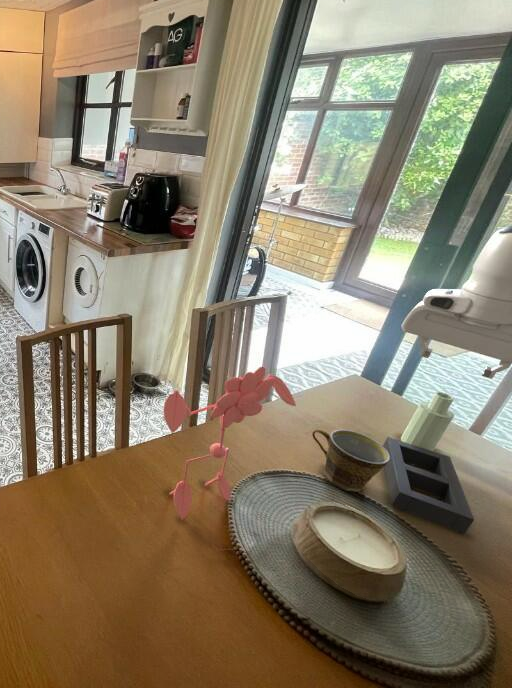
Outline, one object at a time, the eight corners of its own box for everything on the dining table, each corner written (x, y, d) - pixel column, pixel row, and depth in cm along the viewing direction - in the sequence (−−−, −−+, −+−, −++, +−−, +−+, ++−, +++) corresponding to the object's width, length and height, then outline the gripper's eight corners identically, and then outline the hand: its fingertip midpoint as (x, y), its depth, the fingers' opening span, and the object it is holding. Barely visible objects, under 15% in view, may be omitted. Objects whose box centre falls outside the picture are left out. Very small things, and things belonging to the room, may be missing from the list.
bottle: (429, 442, 102) (458, 394, 96) (434, 457, 98) (465, 407, 91) (399, 433, 105) (425, 385, 99) (402, 446, 101) (430, 397, 94)
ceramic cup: (376, 482, 91) (395, 448, 87) (364, 506, 85) (383, 471, 81) (309, 448, 100) (323, 416, 96) (293, 468, 94) (308, 435, 90)
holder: (441, 469, 94) (449, 456, 93) (464, 533, 80) (474, 519, 78) (380, 449, 100) (387, 436, 98) (391, 505, 85) (399, 492, 84)
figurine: (133, 499, 86) (162, 359, 71) (233, 474, 93) (279, 340, 78) (180, 570, 73) (228, 415, 58) (293, 535, 79) (363, 387, 64)
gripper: (573, 322, 74) (532, 384, 80) (422, 287, 89) (396, 342, 95) (572, 331, 71) (528, 396, 77) (415, 294, 86) (388, 350, 92)
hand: (454, 366), depth 86 cm, fingers open, 8 cm apart
